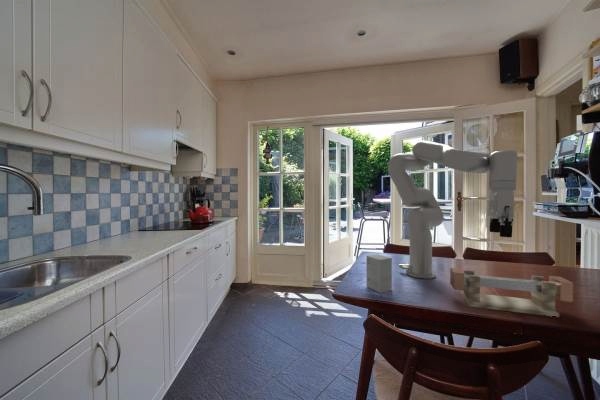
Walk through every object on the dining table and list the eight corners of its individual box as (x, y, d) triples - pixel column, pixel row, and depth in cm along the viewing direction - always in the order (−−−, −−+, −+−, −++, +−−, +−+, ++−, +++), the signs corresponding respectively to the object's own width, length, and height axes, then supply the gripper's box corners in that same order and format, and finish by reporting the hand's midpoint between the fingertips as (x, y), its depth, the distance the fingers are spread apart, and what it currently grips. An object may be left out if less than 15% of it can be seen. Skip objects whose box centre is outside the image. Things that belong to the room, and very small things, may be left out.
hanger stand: (469, 306, 85) (470, 277, 84) (461, 294, 94) (461, 268, 94) (559, 317, 77) (559, 285, 77) (540, 303, 86) (541, 275, 86)
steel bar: (454, 289, 88) (454, 272, 88) (450, 283, 94) (450, 267, 93) (572, 302, 77) (573, 282, 77) (560, 294, 83) (560, 276, 83)
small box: (392, 290, 99) (392, 257, 99) (380, 293, 96) (380, 259, 96) (377, 283, 106) (377, 253, 106) (365, 286, 103) (365, 255, 103)
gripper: (481, 186, 97) (479, 230, 98) (498, 186, 81) (496, 238, 82) (504, 186, 94) (502, 231, 95) (527, 186, 78) (525, 240, 79)
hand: (499, 234), depth 88 cm, fingers open, 9 cm apart
